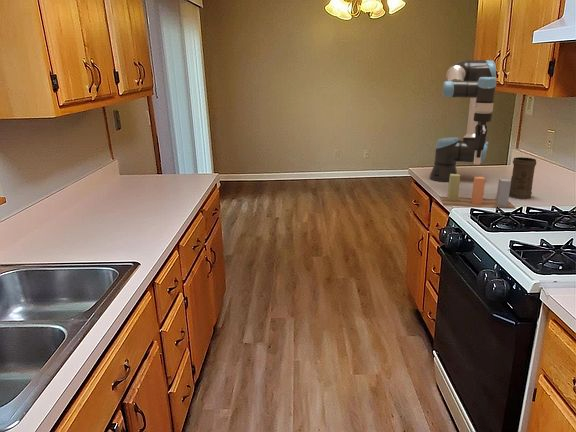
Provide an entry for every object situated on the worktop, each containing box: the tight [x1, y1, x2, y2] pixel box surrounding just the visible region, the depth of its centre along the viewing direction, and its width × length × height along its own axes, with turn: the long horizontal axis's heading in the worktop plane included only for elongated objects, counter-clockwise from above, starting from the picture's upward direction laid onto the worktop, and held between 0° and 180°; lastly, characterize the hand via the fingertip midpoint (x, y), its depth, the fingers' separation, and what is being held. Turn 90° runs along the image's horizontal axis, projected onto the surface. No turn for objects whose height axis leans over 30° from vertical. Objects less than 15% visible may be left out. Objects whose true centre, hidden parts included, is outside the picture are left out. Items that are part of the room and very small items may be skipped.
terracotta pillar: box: [470, 176, 486, 205], centre depth 209 cm, size 4×4×12 cm
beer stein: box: [509, 157, 537, 200], centre depth 221 cm, size 15×11×20 cm
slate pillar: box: [495, 178, 511, 207], centre depth 204 cm, size 4×4×12 cm
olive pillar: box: [446, 173, 461, 201], centre depth 214 cm, size 4×4×12 cm
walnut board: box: [439, 196, 517, 210], centre depth 212 cm, size 15×31×1 cm, turn 80°
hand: (476, 164), depth 214 cm, fingers closed
